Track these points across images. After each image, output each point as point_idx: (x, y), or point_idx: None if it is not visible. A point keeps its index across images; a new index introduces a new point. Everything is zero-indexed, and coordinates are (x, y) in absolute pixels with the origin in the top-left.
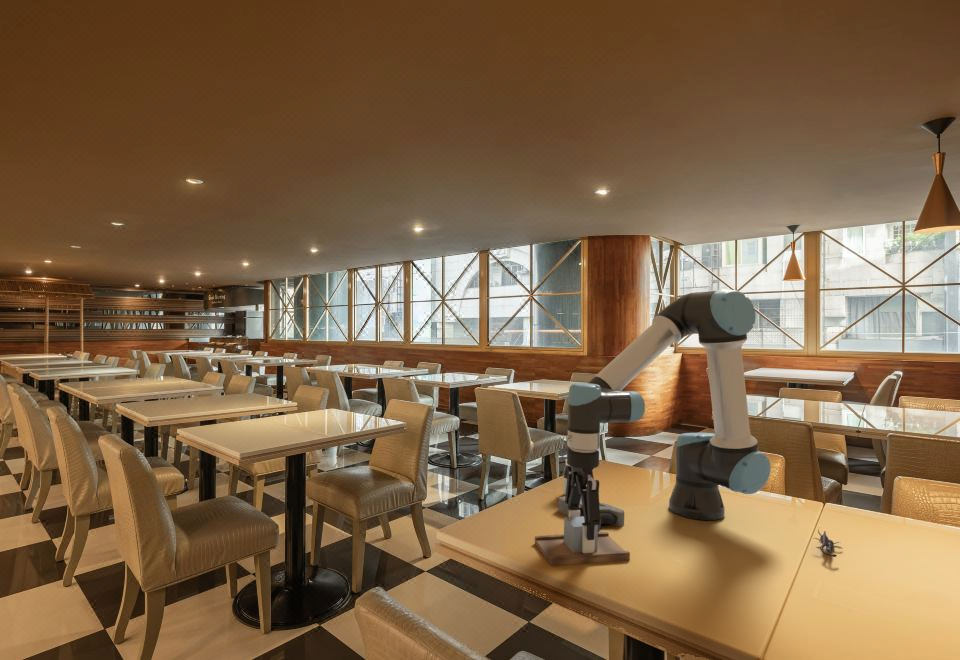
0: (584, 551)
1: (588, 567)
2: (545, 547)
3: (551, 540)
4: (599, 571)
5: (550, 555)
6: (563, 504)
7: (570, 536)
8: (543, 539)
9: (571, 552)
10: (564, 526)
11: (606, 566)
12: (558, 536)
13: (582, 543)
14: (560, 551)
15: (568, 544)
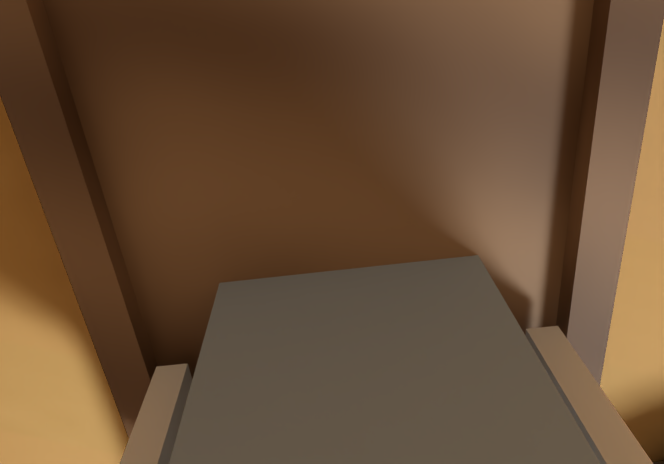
0: (156, 386)
1: (60, 331)
2: (364, 14)
3: (547, 138)
4: (4, 386)
5: (133, 25)
6: None
7: (295, 363)
8: (591, 43)
9: (228, 271)
10: (529, 372)
11: (100, 443)
12: (579, 234)
13: (160, 429)
14: (249, 170)
15: (344, 286)
